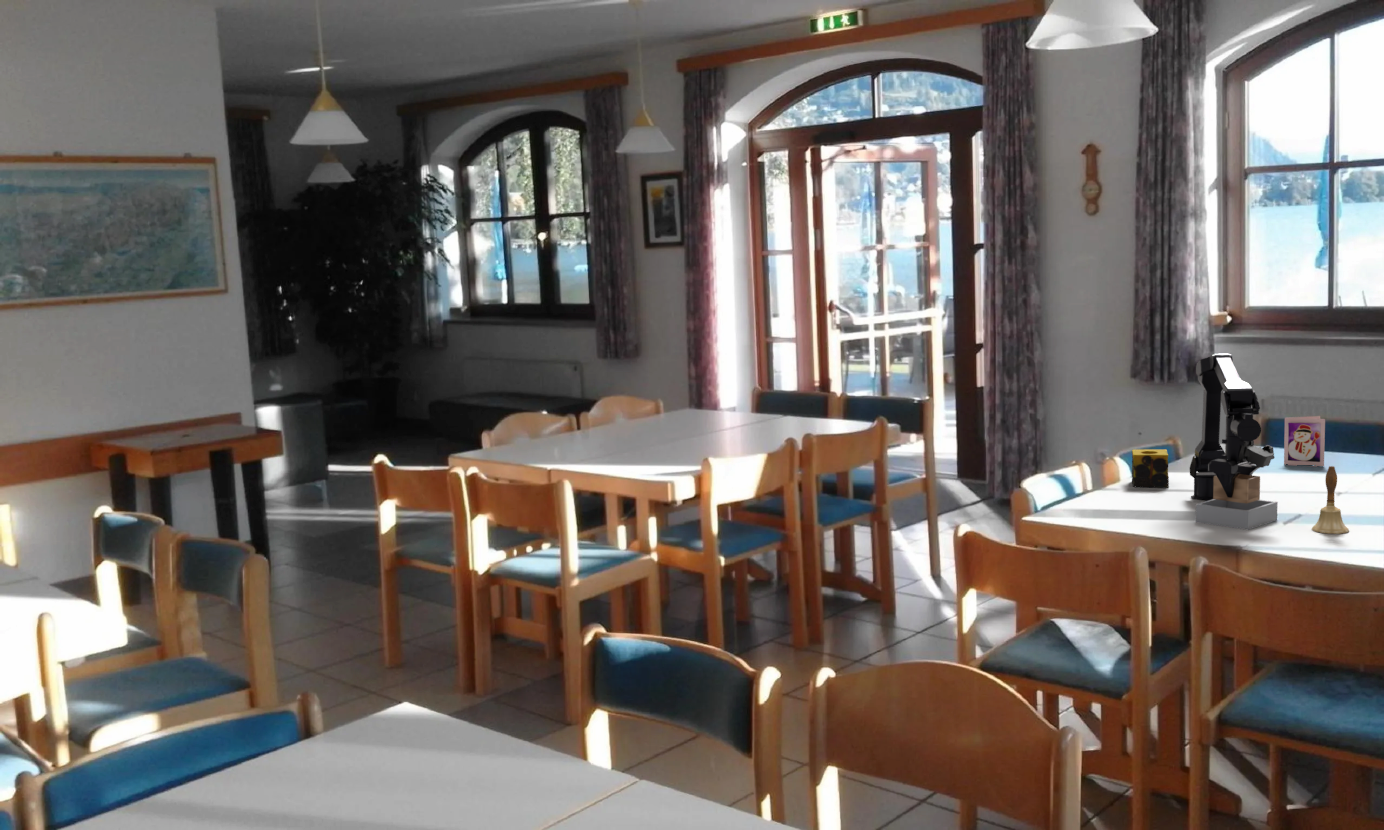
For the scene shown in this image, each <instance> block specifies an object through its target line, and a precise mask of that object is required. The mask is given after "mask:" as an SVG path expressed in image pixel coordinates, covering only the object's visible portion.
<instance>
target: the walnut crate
mask: <svg viewBox="0 0 1384 830" xmlns="http://www.w3.org/2000/svg"><path fill="white" fill-rule="evenodd" d="M1260 495H1261V476H1259V475H1253V474H1252V475H1243V474H1239V475H1238V476H1237V477H1236V478H1235V483H1234V490H1233V496H1232V498H1229V497H1227V495H1226V493H1225V491H1224V489H1223V487H1222V485H1221V483H1220V481H1219V479H1218V478H1217V476H1214V489H1213V499H1217V500H1224V501H1232V502H1239V503H1250V502H1253V501H1257V500H1261V497H1260Z"/></svg>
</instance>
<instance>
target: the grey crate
mask: <svg viewBox="0 0 1384 830" xmlns="http://www.w3.org/2000/svg"><path fill="white" fill-rule="evenodd" d="M1275 521H1278V501H1274V500H1273V501H1271V500H1263V499H1260V500H1257V501H1253V502H1250V503H1239V502H1232V501H1224V500H1217V499H1212V500H1204V501H1201V502H1199V503H1196V504H1195V523H1199V524H1207V525H1213V524H1214V525H1213V526H1219V525H1222V526H1221V527H1226V528H1227V527H1228V528H1234V529H1240V530H1241V529H1242V530H1246V531H1247V530H1248V531H1249V530H1252V529H1254V528H1257V527H1260V526H1263V525H1266V524H1270V523H1272V522H1275Z"/></svg>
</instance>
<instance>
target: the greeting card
mask: <svg viewBox="0 0 1384 830" xmlns="http://www.w3.org/2000/svg"><path fill="white" fill-rule="evenodd" d="M1325 433H1326V419H1325V418H1321V415H1315V416H1313V415H1312V416H1293V417H1292V416H1291V417H1284V437H1283V439H1284V443H1283V444H1284V445H1283V447H1284V448H1283V450H1284V451H1283V465H1284V464H1285V465H1284V466H1297V465H1314V466H1313V467H1317V466H1324V467H1325V447H1326V446H1325V440H1326V439H1325V438H1326V434H1325ZM1286 464H1288V465H1286ZM1315 465H1316V466H1315Z"/></svg>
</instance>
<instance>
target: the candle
mask: <svg viewBox="0 0 1384 830" xmlns="http://www.w3.org/2000/svg"><path fill="white" fill-rule="evenodd" d="M1131 455H1132V456H1131V459H1132V460H1131V483H1132V487H1133V488H1155V489H1157V488H1158V489H1159V488H1161V489H1162V488H1163V489H1166V488H1169V487H1170V486H1169V485H1170V484H1169V483H1170V480H1169V479H1170V478H1169V454H1168V450H1167V449H1166V448H1165V449H1156V448H1154V449H1147V448H1146V449H1137V448H1136V449H1132V450H1131Z"/></svg>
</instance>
